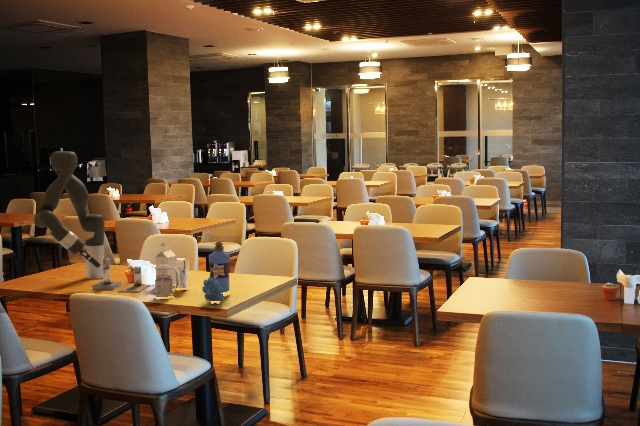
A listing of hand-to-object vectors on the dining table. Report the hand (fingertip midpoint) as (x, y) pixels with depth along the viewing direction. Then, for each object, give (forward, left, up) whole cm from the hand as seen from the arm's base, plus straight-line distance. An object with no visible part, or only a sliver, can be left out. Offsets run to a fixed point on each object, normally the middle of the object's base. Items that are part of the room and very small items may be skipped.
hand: (97, 265), depth 338 cm
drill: (-2, +3, -11) cm, 12 cm away
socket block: (-2, +3, -12) cm, 13 cm away
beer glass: (-4, +39, -12) cm, 42 cm away
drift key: (-8, -5, -13) cm, 16 cm away
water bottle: (+7, +60, -12) cm, 62 cm away
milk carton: (-12, +29, -12) cm, 34 cm away
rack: (-1, +17, -12) cm, 21 cm away
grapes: (+27, +61, -12) cm, 68 cm away
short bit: (-5, +17, -11) cm, 21 cm away
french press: (+12, +35, -12) cm, 39 cm away
